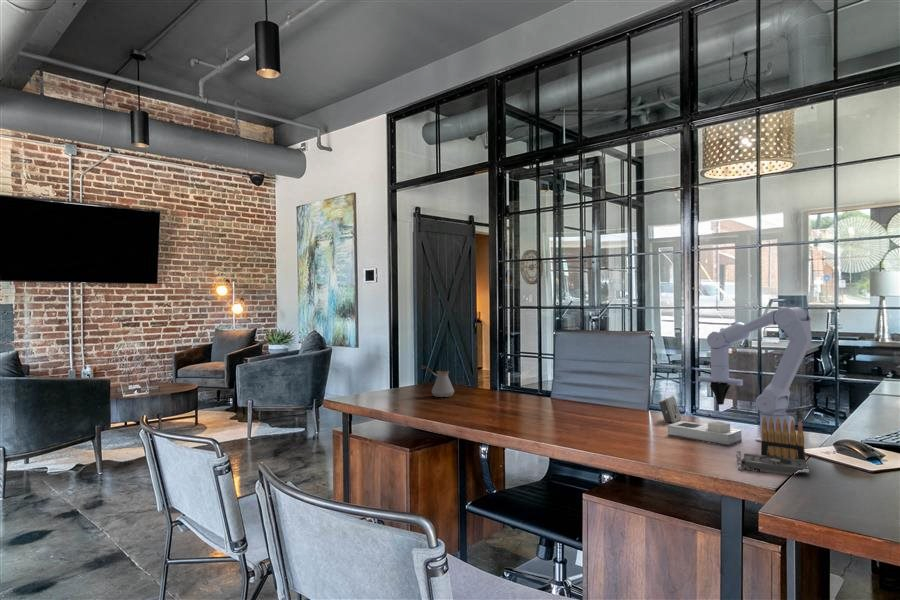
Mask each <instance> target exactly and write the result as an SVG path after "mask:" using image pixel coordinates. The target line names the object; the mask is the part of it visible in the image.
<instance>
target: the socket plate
mask: <svg viewBox="0 0 900 600" xmlns="http://www.w3.org/2000/svg"><path fill="white" fill-rule="evenodd" d="M668 435H670V436H669V437H674V436H675V438H679V437H680V439H685V438H686V440H691V441H696V440H698V441H697V442H702V441H704V442H703V443H707V442H710V443H709V444H713V443H715V444H714V445H718V444H720V446H724V445H725V447H730V446H732V444H733V445H736V444H737V442H738V443H740V442H742V438H743V436H742V429H737V428H731V427H730V431H729V432H726V433H720V432H713V431H708V424H704V423H698V422H692V421H685V420H681V421H680V420H679V421H677V422H675V423H671V424H670V423H669V424H668V425H667V436H668Z"/></svg>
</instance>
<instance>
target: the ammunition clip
mask: <svg viewBox="0 0 900 600" xmlns="http://www.w3.org/2000/svg"><path fill="white" fill-rule="evenodd" d="M803 429H804V427H803V422H802V420H799V421H798V425H797V432H796V422H795V423H794V421H793V420H792V421H791V426H790V443H789V433H788V424H787V421H786V419H785V420H784V423H783V433H781V424H780V420H779V418H778V419H777V421H776V432H774V424H773V419H772V418H770V421H769V432H768V431H767V422H766V418H765V417H764V418H763V421H762V441H761V446H760V447H761V448H760V455H765V456H775V457H784V458H793V459H802V460H806V452H805V436H804V430H803Z"/></svg>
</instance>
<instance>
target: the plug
mask: <svg viewBox="0 0 900 600" xmlns="http://www.w3.org/2000/svg"><path fill="white" fill-rule="evenodd" d="M707 425H708V431H713V432H720V433H726V432H729V431H730V428H731V423H729V422H723V421H712V422H708V423H707Z"/></svg>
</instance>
